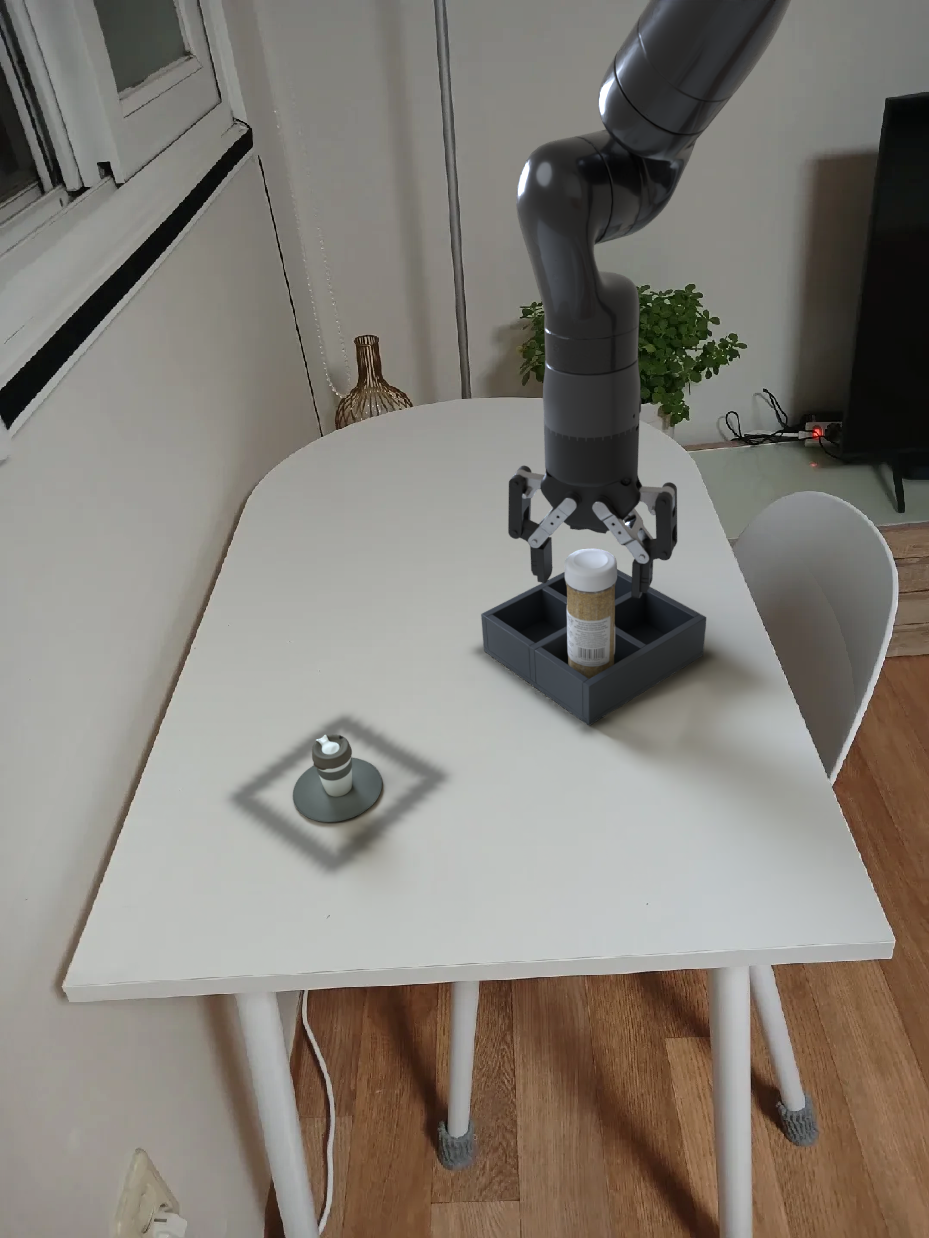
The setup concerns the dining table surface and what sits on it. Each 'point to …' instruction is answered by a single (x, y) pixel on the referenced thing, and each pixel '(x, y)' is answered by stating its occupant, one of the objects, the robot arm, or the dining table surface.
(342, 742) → the coffee cup
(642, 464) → the dining table surface
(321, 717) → the dining table surface
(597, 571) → the sprinkles bottle
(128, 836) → the dining table surface
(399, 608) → the dining table surface
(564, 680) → the divided storage tray
